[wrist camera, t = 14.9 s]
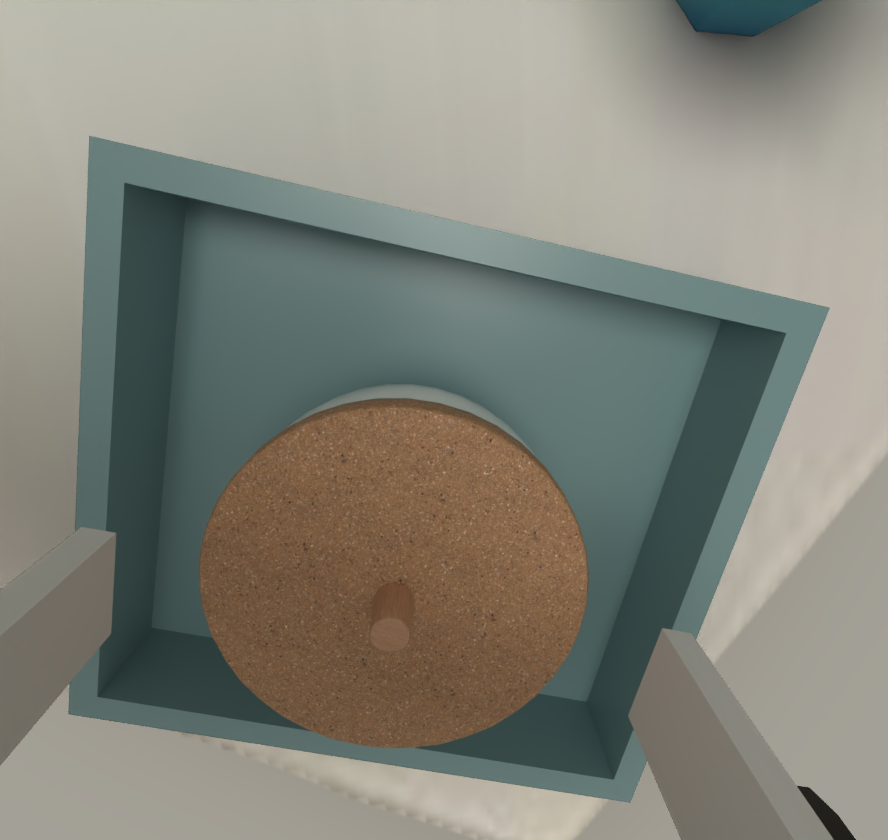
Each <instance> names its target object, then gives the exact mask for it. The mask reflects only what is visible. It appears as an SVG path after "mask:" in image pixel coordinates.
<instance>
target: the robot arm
mask: <svg viewBox="0 0 888 840" xmlns="http://www.w3.org/2000/svg"><path fill="white" fill-rule="evenodd" d="M115 548H116V533H114V532H108V531H102V530H97V529H91V528H85V527H81V528H79V529H78V530H77V531H75V532H74V533H73V534H72V535H70V536H69V537H68V538H67V539H65V540H64V541H63V542H61V543H60V544H59V545H58V546H56V547H55V548H54V549H52V550H51V551H50V552H49V553H47V554H46V555H45V556H44V557H42V558H41V559H40V560H38V561H37V562H36V563H35V564H33V565H32V566H31V567H29V568H28V569H27V570H26V571H24V572H23V573H22V574H21V575H19V576H18V577H17V578H15V579H14V580H13V581H12V582H10V583H9V584H8V585H6V586H5V587H4V588H3V589H1V590H0V765H1V764H2V763H3V762H4V760H5V759H6V758H7V757H8V756H9V755H10V753H11V752H12V751H13V750H14V749H15V747H16V746H17V745H18V743H20V741H21V740H22V739H23V738H24V737H25V735H26V734H27V733H28V732H29V731H30V730H31V728H32V727H33V726H34V724H36V722H37V721H38V720H39V719H40V717H41V716H42V715H43V714H44V713H45V712H46V710H47V709H48V708H49V707H50V706H51V705H52V703H53V702H54V701H55V699H57V697H58V696H59V695H60V694H61V693H62V691H63V690H64V689H65V688H66V687H67V685H68V684H69V683H70V682H71V681H72V680H73V678H74V677H75V676H76V675H77V674H78V672H79V671H80V670H81V669H82V668H83V666H84V665H85V664H86V663H87V662H88V660H89V659H90V658H91V657H92V656H93V655H94V653H95V652H96V651H97V650H98V649H99V647H100V646H101V645H102V644H103V643H104V641H105V640H106V639H107V638H108V637H109V635H110V634H111V626H112V607H113V587H114V568H115ZM628 717H629V719H630V721H631V724H632V726H633V728H634V731H635V733H636V735H637V738H638V740H639V742H640V745H641V747H642V749H643V752H644V754H645V756H646V759H647V761H648V763H649V766H650V768H651V770H652V773H653V775H654V777H655V780H656V782H657V784H658V787H659V789H660V791H661V794H662V796H663V798H664V801H665V803H666V805H667V808H668V810H669V812H670V815H671V817H672V819H673V822H674V824H675V826H676V829H677V831H678V833H679V836H680V838H681V840H856V839H855V838H854V836H853V835H852V834H851V833H850V831H849V830H848V828H847V827H846V826H845V824H844V823H843V821H842V820H841V819H840V817H839V816H838V815H837V814H836V813H835V812H834V811H833V810H832V809H831V808H830V807H829V806H828V805H827V804H826V803H825V802H824V801H823V800H822V799H821V798H820V797H819V796H817V794H815V793H814V792H813V791H812V790H811V789H810V788H808V787H802V786H796V784H795V783H794V781H793V780H792V778H791V777H790V776H789V774H788V773H787V771H786V770H785V769H784V767H783V766H782V764H781V762H780V761H779V760H778V758H777V757H776V755H775V754H774V752H773V751H772V750H771V748H770V747H769V745H768V744H767V742H766V741H765V739H764V738H763V736H762V735H761V733H760V732H759V731H758V729H757V728H756V726H755V725H754V723H753V722H752V720H751V719H750V718H749V716H748V715H747V713H746V712H745V710H744V709H743V707H742V706H741V704H740V703H739V702H738V700H737V699H736V697H735V696H734V694H733V693H732V691H730V688H729V687H728V686H727V684H726V683H725V681H724V680H723V678H722V677H721V675H720V674H719V673H718V671H717V670H716V668H715V667H714V665H713V664H712V662H711V661H710V659H709V658H708V657H707V655H706V654H705V652H704V651H703V649H702V648H701V646H700V645H699V644H698V642H697V641H696V639H695V638H694V636H693V635H692V633H688V632H682V631H676V630H671V629H665V628H662V630H661V632H660V635H659V638H658V640H657V643H656V645H655V648H654V650H653V653H652V656H651V658H650V661H649V663H648V666H647V668H646V671H645V673H644V676H643V679H642V681H641V684H640V686H639V689H638V691H637V694H636V697H635V699H634V702H633V704H632V707H631V709H630V712H629V714H628Z"/></svg>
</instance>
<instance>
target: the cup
mask: <svg viewBox="0 0 888 840" xmlns="http://www.w3.org/2000/svg"><path fill="white" fill-rule="evenodd" d="M819 1H821V0H677V2H678V3H679V5H680V6H681V8H682V10H683V11H684V13H685V14H686V16H687V18H688V19H689V21H690V22H691V24H692V26H693V27H694V29H695V30H696V31H703V32H713V33H724V34H735V35H745V36H755V35H757V34H759V33H761V32H762V31H764V30H766V29H768V28H770V27H772V26H774V25H776V24H778V23H780V22H781V21H783V20H785V19H787V18H789V17H791V16H793V15H795V14H797V13H798V12H800V11H802V10H804V9H806V8H808V7H810V6H812V5H814V4H816V3H817V2H819Z"/></svg>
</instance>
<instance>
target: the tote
mask: <svg viewBox="0 0 888 840" xmlns="http://www.w3.org/2000/svg"><path fill="white" fill-rule="evenodd" d="M828 311H829V307H824V306H820V305H816V304H811V303H807V302H803V301H798V300H794V299H790V298H786V297H781V296H777V295H773V294H768V293H764V292H760V291H755V290H751V289H747V288H742V287H738V286H734V285H730V284H725V283H721V282H717V281H712V280H708V279H704V278H699V277H695V276H691V275H686V274H682V273H678V272H674V271H669V270H665V269H661V268H656V267H652V266H648V265H643V264H639V263H635V262H630V261H626V260H622V259H618V258H613V257H609V256H605V255H600V254H596V253H592V252H587V251H583V250H579V249H574V248H570V247H566V246H562V245H557V244H553V243H549V242H544V241H540V240H536V239H531V238H527V237H523V236H518V235H514V234H510V233H506V232H501V231H497V230H493V229H488V228H484V227H480V226H475V225H471V224H467V223H462V222H458V221H454V220H450V219H445V218H441V217H437V216H432V215H428V214H424V213H419V212H415V211H411V210H406V209H402V208H398V207H393V206H389V205H385V204H381V203H376V202H372V201H368V200H363V199H359V198H355V197H350V196H346V195H342V194H337V193H333V192H329V191H325V190H320V189H316V188H312V187H307V186H303V185H299V184H294V183H290V182H286V181H281V180H277V179H273V178H269V177H264V176H260V175H256V174H251V173H247V172H243V171H238V170H234V169H230V168H225V167H221V166H217V165H213V164H208V163H204V162H200V161H195V160H191V159H187V158H182V157H178V156H174V155H169V154H165V153H161V152H157V151H152V150H148V149H144V148H139V147H135V146H131V145H126V144H122V143H118V142H113V141H109V140H105V139H101V138H96V137H92V136H89V160H88V188H87V216H86V243H85V271H84V299H83V327H82V354H81V382H80V410H79V438H78V465H77V493H76V521H75V531H77V530H78V529H79V528H81V527H85V528H91V529H97V530H102V531H108V532H114V533H116V548H115V568H114V587H113V607H112V626H111V634H110V635H109V637H108V638H107V639H106V640H105V641H104V643H103V644H102V645H101V646H100V647H99V649H98V650H97V651H96V652H95V653H94V655H93V656H92V657H91V658H90V659H89V660H88V662H87V663H86V664H85V665H84V666H83V668H82V669H81V670H80V671H79V672H78V674H77V675H76V676H75V677H74V678H73V680H72V681H71V682H70V687H69V714H71V715H77V716H83V717H90V718H97V719H103V720H109V721H116V722H122V723H128V724H135V725H141V726H147V727H153V728H160V729H166V730H172V731H179V732H185V733H191V734H198V735H204V736H210V737H217V738H223V739H229V740H236V741H242V742H248V743H255V744H261V745H267V746H274V747H280V748H286V749H293V750H299V751H306V752H312V753H318V754H325V755H331V756H337V757H344V758H350V759H356V760H363V761H369V762H375V763H382V764H388V765H394V766H401V767H407V768H413V769H420V770H426V771H432V772H439V773H445V774H451V775H458V776H464V777H470V778H477V779H483V780H489V781H496V782H502V783H508V784H515V785H521V786H528V787H534V788H540V789H547V790H553V791H559V792H566V793H572V794H578V795H585V796H591V797H597V798H604V799H610V800H617V801H623V802H629V803H630V802H631V799H632V797H633V795H634V792H635V790H636V787H637V785H638V782H639V780H640V777H641V774H642V772H643V770H644V767H645V765H646V762H647V759H646V756H645V754H644V752H643V749H642V747H641V745H640V742H639V740H638V738H637V735H636V733H635V731H634V728H633V726H632V724H631V721H630V719H629V717H628V714H629V712H630V709H631V707H632V704H633V702H634V699H635V697H636V694H637V691H638V689H639V686H640V684H641V681H642V679H643V676H644V673H645V671H646V668H647V666H648V663H649V661H650V658H651V656H652V653H653V650H654V648H655V645H656V643H657V640H658V638H659V635H660V632H661V630H662V628H665V629H671V630H676V631H682V632H688V633H692V635H693V636H694V638H695V639H696V638H697V636H698V633H699V631H700V628H701V626H702V623H703V621H704V618H705V616H706V613H707V611H708V608H709V606H710V604H711V601H712V599H713V596H714V594H715V591H716V589H717V586H718V584H719V581H720V579H721V576H722V574H723V571H724V569H725V566H726V564H727V561H728V559H729V556H730V554H731V551H732V549H733V546H734V544H735V541H736V539H737V537H738V534H739V532H740V529H741V527H742V524H743V522H744V519H745V517H746V514H747V512H748V509H749V507H750V504H751V502H752V499H753V497H754V494H755V492H756V489H757V487H758V484H759V482H760V479H761V477H762V475H763V472H764V470H765V467H766V465H767V462H768V460H769V457H770V455H771V452H772V450H773V447H774V445H775V442H776V440H777V437H778V435H779V432H780V430H781V427H782V425H783V422H784V420H785V417H786V415H787V413H788V410H789V408H790V405H791V403H792V400H793V398H794V395H795V393H796V390H797V388H798V385H799V383H800V380H801V378H802V375H803V373H804V370H805V368H806V365H807V363H808V360H809V358H810V355H811V353H812V350H813V348H814V346H815V343H816V341H817V338H818V336H819V333H820V331H821V328H822V326H823V323H824V321H825V318H826V316H827V313H828ZM386 384H414V385H421V386H427V387H434V388H439V389H442V390H445V391H448V392H452V393H455V394H458V395H461V396H463V397H465V398H467V399H469V400H471V401H473V402H475V403H477V404H479V405H481V406H483V407H485V408H486V409H487V410H489V411H490V412H492V413H493V414H495V415H496V416H497V417H499V418H500V419H502V420H503V421H504V422H505V423H506V424H507V425H509V426H510V427H511V428H512V429H513V430H514V431H515V432H516V433H517V434H518V435H519V436H520V437H521V438H522V439H523V440H524V441H525V442H526V443H527V444H528V446H529V447H530V448H531V450H532V451H533V452H534V454H535V455H536V457H537V458H538V459H539V461H540V462H541V463H542V464H543V465H544V466H545V467H546V468H547V470H548V471H549V473H550V474H551V475H552V477H553V478H554V480H555V481H556V482H557V484H558V485H559V486H560V488H561V489H562V491H563V493H564V494H565V496H566V498H567V500H568V503H569V505H570V507H571V509H572V511H573V513H574V515H575V517H576V519H577V521H578V523H579V526H580V530H581V533H582V537H583V540H584V544H585V547H586V551H587V561H588V572H589V584H588V596H587V605H586V609H585V613H584V617H583V621H582V624H581V628H580V631H579V633H578V635H577V638H576V640H575V642H574V644H573V646H572V648H571V651H570V653H569V654H568V656H567V657H566V659H565V660H564V662H563V663H562V665H561V666H560V668H559V669H558V671H557V672H556V674H555V675H554V676H553V677H552V679H551V680H550V681H549V682H548V683H547V684H546V685H545V686H544V687H543V689H542V690H541V691H540V692H539V693H538V694H537V695H536V696H535V697H534V698H533V699H532V700H530V701H529V702H528V703H526V704H525V705H524V706H522V707H521V708H520V709H519V710H517V711H516V712H515V713H513V714H512V715H510V716H508V717H507V718H505V719H503V720H502V721H500V722H498V723H497V724H495V725H493V726H492V727H489V728H487V729H484V730H482V731H479V732H477V733H475V734H472V735H470V736H467V737H464V738H460V739H457V740H453V741H450V742H446V743H443V744H438V745H430V746H422V747H414V748H379V747H371V746H363V745H357V744H352V743H348V742H343V741H339V740H335V739H331V738H328V737H326V736H323V735H321V734H318V733H316V732H313V731H311V730H308V729H306V728H304V727H302V726H300V725H298V724H296V723H294V722H292V721H290V720H289V719H287V718H285V717H283V716H281V715H280V714H278V713H277V712H276V711H274V710H273V709H272V708H271V707H269V706H268V705H267V704H265V703H264V702H263V701H261V700H260V699H259V698H258V697H257V696H256V695H255V694H254V693H253V692H252V691H251V690H249V689H248V688H247V687H246V686H245V685H244V684H243V683H242V682H241V681H240V680H239V678H238V677H237V675H236V674H235V673H234V671H233V670H232V669H231V667H230V666H229V664H228V663H227V662H226V660H225V659H224V657H223V655H222V653H221V651H220V650H219V648H218V646H217V644H216V642H215V640H214V639H213V637H212V635H211V632H210V629H209V626H208V623H207V620H206V617H205V613H204V610H203V607H202V600H201V593H200V586H199V562H200V551H201V546H202V542H203V537H204V533H205V528H206V525H207V523H208V521H209V518H210V516H211V514H212V511H213V509H214V507H215V504H216V502H217V500H218V498H219V497H220V495H221V494H222V492H223V491H224V489H225V488H226V486H227V485H228V483H229V482H230V480H231V479H232V477H233V476H234V475H235V474H236V472H237V471H238V470H239V469H240V468H241V467H242V466H243V465H244V464H245V463H246V462H247V461H248V460H249V459H250V458H251V457H252V456H253V455H254V453H255V452H256V451H257V450H258V449H259V448H260V447H261V446H263V445H264V444H265V443H267V442H268V441H270V440H271V439H272V438H274V437H275V436H276V435H278V434H279V433H280V432H282V431H283V430H284V429H285V428H287V427H288V426H289V425H291V424H292V423H293V422H295V421H296V420H297V419H299V418H300V417H301V416H303V415H304V414H305V413H307V412H308V411H310V410H312V409H314V408H316V407H318V406H320V405H322V404H324V403H326V402H328V401H330V400H332V399H334V398H336V397H337V396H340V395H343V394H346V393H349V392H352V391H355V390H358V389H361V388H367V387H373V386H380V385H386Z"/></svg>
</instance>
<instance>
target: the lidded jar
mask: <svg viewBox="0 0 888 840" xmlns="http://www.w3.org/2000/svg"><path fill="white" fill-rule="evenodd" d="M588 584H589V572H588V561H587V551H586V547H585V544H584V540H583V537H582V533H581V530H580V526H579V523H578V521H577V519H576V517H575V515H574V513H573V511H572V509H571V507H570V505H569V503H568V500H567V498H566V496H565V494H564V493H563V491H562V489H561V488H560V486H559V485H558V484H557V482H556V481H555V480H554V478H553V477H552V475H551V474H550V473H549V471H548V470H547V468H546V467H545V466H544V465H543V464H542V463H541V462H540V461H539V459H538V458H537V457H536V455H535V454H534V452H533V451H532V450H531V448H530V447H529V446H528V444H527V443H526V442H525V441H524V440H523V439H522V438H521V437H520V436H519V435H518V434H517V433H516V432H515V431H514V430H513V429H512V428H511V427H510V426H509V425H507V424H506V423H505V422H504V421H503V420H502V419H500V418H499V417H497V416H496V415H495V414H493V413H492V412H490V411H489V410H487V409H486V408H485V407H483V406H481V405H479V404H477V403H475V402H473V401H471V400H469V399H467V398H465V397H463V396H461V395H458V394H455V393H452V392H448V391H445V390H442V389H439V388H434V387H427V386H421V385H414V384H386V385H380V386H373V387H367V388H361V389H358V390H355V391H352V392H349V393H346V394H343V395H340V396H337V397H336V398H334V399H332V400H330V401H328V402H326V403H324V404H322V405H320V406H318V407H316V408H314V409H312V410H310V411H308V412H307V413H305V414H304V415H303V416H301V417H300V418H299V419H297V420H296V421H295V422H293V423H292V424H291V425H289V426H288V427H287V428H285V429H284V430H283V431H282V432H280V433H279V434H278V435H276V436H275V437H274V438H272V439H271V440H270V441H268V442H267V443H265V444H264V445H263V446H261V447H260V448H259V449H258V450H257V451H256V452H255V453H254V455H253V456H252V457H251V458H250V459H249V460H248V461H247V462H246V463H245V464H244V465H243V466H242V467H241V468H240V469H239V470H238V471H237V472H236V474H235V475H234V476H233V477H232V479H231V480H230V482H229V483H228V485H227V486H226V488H225V489H224V491H223V492H222V494H221V495H220V497H219V498H218V500H217V502H216V504H215V507H214V509H213V511H212V514H211V516H210V518H209V521H208V523H207V525H206V528H205V533H204V537H203V542H202V546H201V551H200V562H199V586H200V593H201V600H202V607H203V610H204V613H205V617H206V620H207V623H208V626H209V629H210V632H211V635H212V637H213V639H214V640H215V642H216V644H217V646H218V648H219V650H220V651H221V653H222V655H223V657H224V659H225V660H226V662H227V663H228V664H229V666H230V667H231V669H232V670H233V671H234V673H235V674H236V675H237V677H238V678H239V680H240V681H241V682H242V683H243V684H244V685H245V686H246V687H247V688H248V689H249V690H251V691H252V692H253V693H254V694H255V695H256V696H257V697H258V698H259V699H260V700H261V701H263V702H264V703H265V704H267V705H268V706H269V707H271V708H272V709H273V710H274V711H276V712H277V713H278V714H280V715H281V716H283V717H285V718H287V719H289V720H290V721H292V722H294V723H296V724H298V725H300V726H302V727H304V728H306V729H308V730H311V731H313V732H316V733H318V734H321V735H323V736H326V737H328V738H331V739H335V740H339V741H343V742H348V743H352V744H357V745H363V746H371V747H379V748H414V747H422V746H430V745H438V744H443V743H446V742H450V741H453V740H457V739H460V738H464V737H467V736H470V735H472V734H475V733H477V732H479V731H482V730H484V729H487V728H489V727H492V726H493V725H495V724H497V723H498V722H500V721H502V720H503V719H505V718H507V717H508V716H510V715H512V714H513V713H515V712H516V711H517V710H519V709H520V708H521V707H522V706H524V705H525V704H526V703H528V702H529V701H530V700H532V699H533V698H534V697H535V696H536V695H537V694H538V693H539V692H540V691H541V690H542V689H543V687H544V686H545V685H546V684H547V683H548V682H549V681H550V680H551V679H552V677H553V676H554V675H555V674H556V672H557V671H558V669H559V668H560V666H561V665H562V663H563V662H564V660H565V659H566V657H567V656H568V654H569V653H570V651H571V648H572V646H573V644H574V642H575V640H576V638H577V635H578V633H579V631H580V628H581V624H582V621H583V617H584V613H585V609H586V605H587V596H588Z"/></svg>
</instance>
